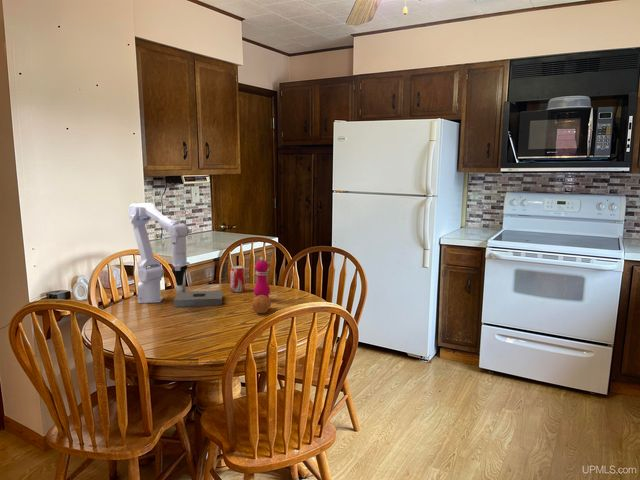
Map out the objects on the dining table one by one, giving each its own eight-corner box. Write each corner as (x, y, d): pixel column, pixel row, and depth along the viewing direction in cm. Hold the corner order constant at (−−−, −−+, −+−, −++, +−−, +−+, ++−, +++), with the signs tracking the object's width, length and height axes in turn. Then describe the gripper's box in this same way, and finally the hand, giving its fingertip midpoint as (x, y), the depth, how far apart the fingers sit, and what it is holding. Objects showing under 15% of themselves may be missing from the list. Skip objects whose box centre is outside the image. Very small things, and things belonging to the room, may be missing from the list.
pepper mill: (271, 298, 219) (271, 256, 216) (268, 302, 212) (268, 258, 209) (256, 298, 220) (255, 255, 217) (252, 302, 213) (251, 258, 210)
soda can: (243, 292, 229) (243, 268, 227) (229, 292, 229) (228, 268, 227) (246, 289, 236) (245, 265, 234) (232, 289, 236) (231, 265, 234)
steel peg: (175, 293, 201) (174, 272, 199) (176, 291, 204) (175, 270, 203) (185, 293, 201) (184, 272, 200) (186, 290, 205) (185, 270, 204)
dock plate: (174, 307, 205) (173, 300, 204) (178, 298, 218) (177, 292, 218) (221, 305, 208) (221, 298, 207) (222, 296, 222) (222, 290, 221)
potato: (249, 315, 193) (249, 298, 192) (256, 306, 206) (256, 290, 205) (266, 316, 192) (266, 299, 191) (273, 307, 205) (273, 291, 204)
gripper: (187, 255, 194) (188, 287, 196) (191, 249, 208) (192, 279, 210) (169, 255, 193) (170, 288, 195) (174, 249, 207) (175, 280, 209)
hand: (180, 284), depth 202 cm, fingers closed on steel peg, 4 cm apart
